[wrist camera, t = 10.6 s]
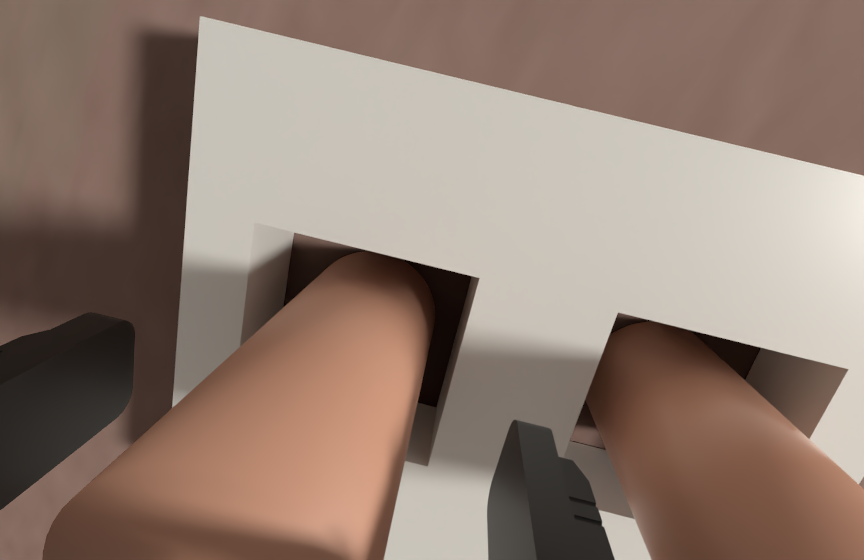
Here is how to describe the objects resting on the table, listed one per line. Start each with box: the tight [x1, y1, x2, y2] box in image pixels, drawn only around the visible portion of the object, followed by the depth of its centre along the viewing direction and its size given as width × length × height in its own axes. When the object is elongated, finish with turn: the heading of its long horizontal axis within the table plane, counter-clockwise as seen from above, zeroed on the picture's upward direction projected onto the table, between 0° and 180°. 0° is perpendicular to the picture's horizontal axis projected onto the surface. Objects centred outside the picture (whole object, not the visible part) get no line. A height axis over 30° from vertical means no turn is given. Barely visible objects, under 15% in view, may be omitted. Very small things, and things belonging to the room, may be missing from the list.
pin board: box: [172, 16, 864, 560], centre depth 10 cm, size 14×18×10 cm
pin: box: [43, 251, 435, 560], centre depth 11 cm, size 4×4×10 cm
